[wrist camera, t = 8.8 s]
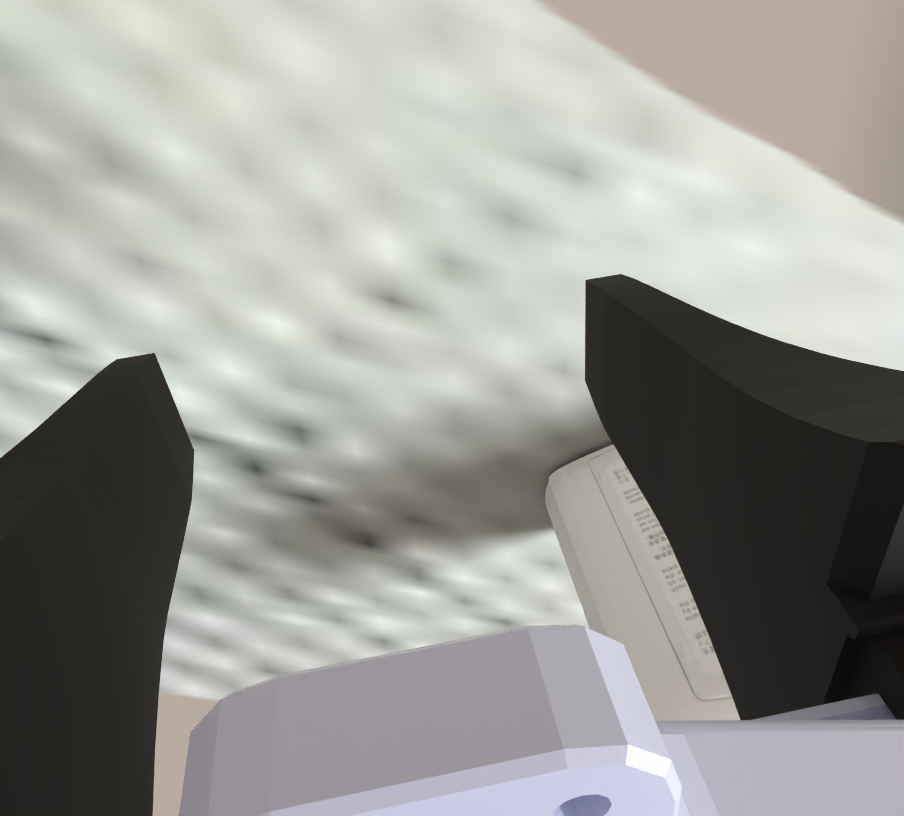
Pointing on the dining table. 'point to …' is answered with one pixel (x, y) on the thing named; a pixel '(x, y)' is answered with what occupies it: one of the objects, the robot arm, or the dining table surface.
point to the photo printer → (636, 587)
